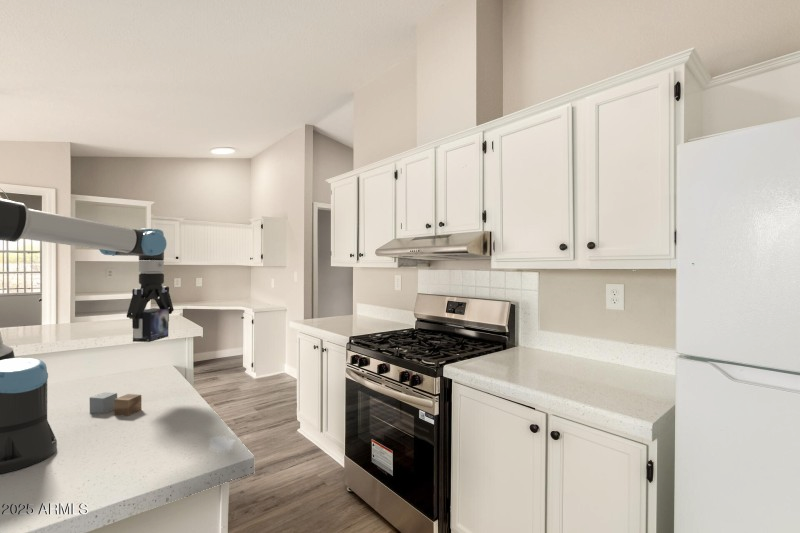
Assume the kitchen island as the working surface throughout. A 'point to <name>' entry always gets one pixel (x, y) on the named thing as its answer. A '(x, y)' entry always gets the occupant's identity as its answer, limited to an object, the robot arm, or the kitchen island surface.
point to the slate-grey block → (102, 403)
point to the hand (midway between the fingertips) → (151, 334)
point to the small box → (153, 325)
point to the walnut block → (127, 404)
